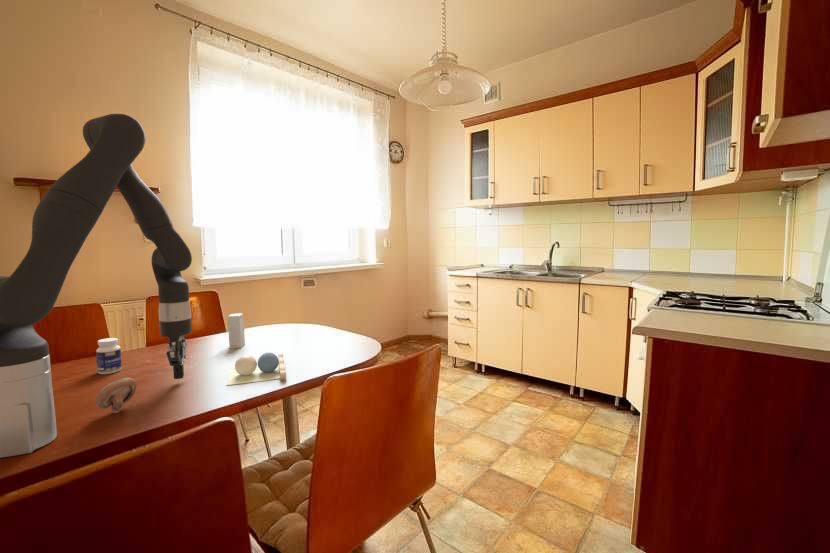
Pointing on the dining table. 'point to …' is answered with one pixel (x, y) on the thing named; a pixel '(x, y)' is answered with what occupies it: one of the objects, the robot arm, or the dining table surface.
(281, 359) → the stopper strip
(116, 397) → the mushroom
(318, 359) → the dining table surface
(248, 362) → the cue ball
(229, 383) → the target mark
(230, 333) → the skincare box
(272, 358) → the blue ball
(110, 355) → the pill bottle
